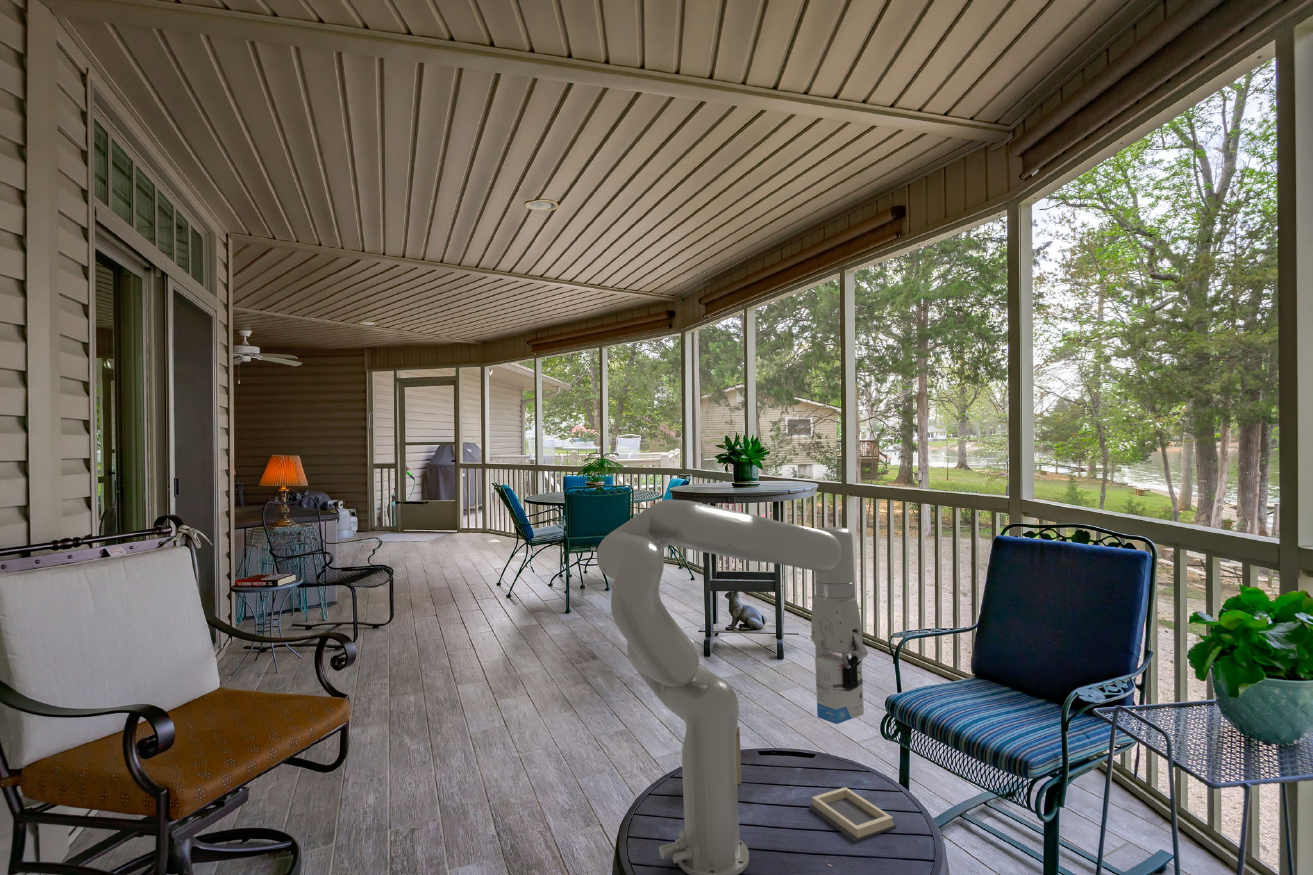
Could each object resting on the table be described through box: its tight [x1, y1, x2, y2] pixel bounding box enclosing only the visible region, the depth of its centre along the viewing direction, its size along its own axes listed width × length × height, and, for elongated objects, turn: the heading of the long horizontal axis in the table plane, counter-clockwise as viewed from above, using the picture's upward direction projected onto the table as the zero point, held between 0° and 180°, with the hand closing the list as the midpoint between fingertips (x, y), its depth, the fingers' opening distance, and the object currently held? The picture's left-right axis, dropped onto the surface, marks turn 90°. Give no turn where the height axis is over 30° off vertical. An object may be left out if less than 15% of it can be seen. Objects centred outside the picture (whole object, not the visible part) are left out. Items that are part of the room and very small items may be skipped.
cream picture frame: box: [808, 786, 897, 843], centre depth 123 cm, size 10×13×2 cm
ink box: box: [814, 640, 865, 725], centre depth 126 cm, size 8×5×15 cm, turn 125°
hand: (839, 682), depth 126 cm, fingers closed on ink box, 5 cm apart
